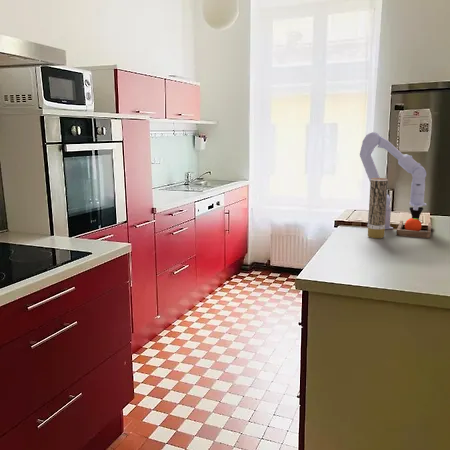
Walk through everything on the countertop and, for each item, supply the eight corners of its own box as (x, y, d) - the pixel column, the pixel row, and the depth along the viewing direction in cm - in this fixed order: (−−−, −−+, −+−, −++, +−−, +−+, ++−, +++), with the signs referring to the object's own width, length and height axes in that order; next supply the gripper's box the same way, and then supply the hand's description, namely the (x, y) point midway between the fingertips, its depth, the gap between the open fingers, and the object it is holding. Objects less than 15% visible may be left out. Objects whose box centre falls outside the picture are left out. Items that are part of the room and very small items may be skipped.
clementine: (422, 232, 210) (424, 216, 208) (424, 235, 203) (425, 219, 202) (403, 231, 212) (404, 215, 210) (404, 234, 205) (405, 218, 204)
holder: (429, 238, 199) (430, 232, 198) (396, 235, 204) (396, 229, 204) (431, 228, 217) (431, 222, 217) (400, 225, 223) (400, 220, 222)
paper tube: (382, 235, 205) (385, 177, 200) (385, 239, 198) (389, 179, 193) (366, 235, 206) (369, 177, 200) (369, 238, 199) (372, 179, 194)
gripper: (426, 196, 203) (424, 227, 206) (427, 191, 216) (425, 220, 219) (408, 195, 206) (406, 225, 209) (411, 191, 219) (409, 219, 222)
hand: (415, 223), depth 214 cm, fingers closed
